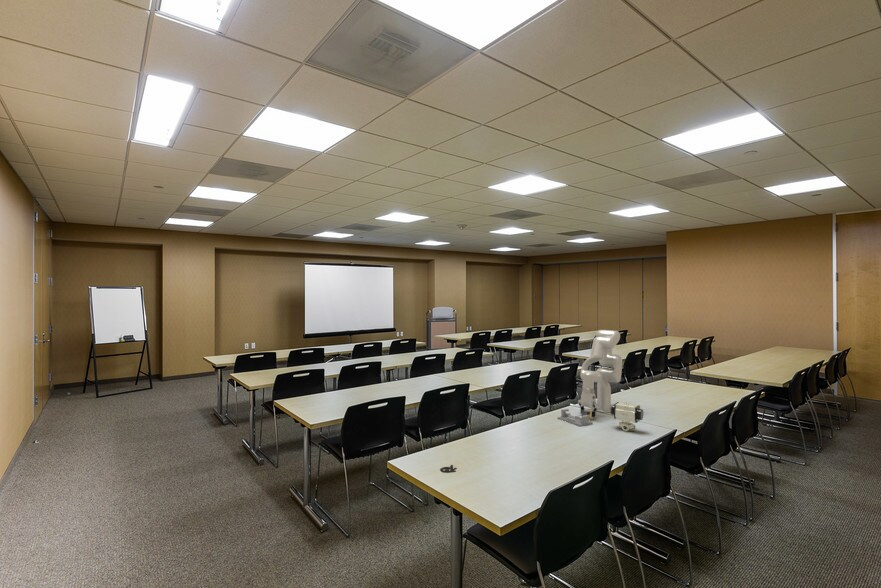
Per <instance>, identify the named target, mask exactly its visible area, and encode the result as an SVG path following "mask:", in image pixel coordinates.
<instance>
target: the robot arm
mask: <svg viewBox="0 0 881 588" xmlns="http://www.w3.org/2000/svg"><path fill="white" fill-rule="evenodd" d="M620 339H621V334H620V332H619V331H618V330H611V329H609V330H608V329H598V330H596V332H595V336H594V338H593V341H592V346H591V350H590V356H588V357H587V359H585V360H584V361H583V363H582V365H581V370H580V375H579V376H580V379H581V380H582V391H581V394H580V395H581V396H580V399H578V400H577V403H578V406H579V408H580V411H581V410H584V409H585V407H586V408H588V409H592V417H595V418H596V417H597V416H596V415H597V414H596V412H599V413H606V414H608V413H610V414H611V406H612V405H614V404H615V403H613V404H611V402H612V400H611V399H612V388H611V384H610V383H620V382H621V380H622V372H623V370H622V369H623V359H622V356H621V355H619V354H613V349H614V348H615V347H616V345H617V344H618V343H619V341H620ZM597 362H599V365H600V366H602V367H599V368H597V369H596V371H595V370H589V369H588V368H589V366H591V364H594V363H597ZM606 367H608V368H606ZM595 383H596V384H597V385H596V390H595Z"/></svg>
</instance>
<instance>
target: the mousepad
mask: <svg viewBox="0 0 881 588" xmlns="http://www.w3.org/2000/svg"><path fill="white" fill-rule="evenodd" d="M439 470H440V472H441V473H447V474H449V473H456V472H457V467H454V466H453V464H450V466H444V467H441V468H440V469H439Z"/></svg>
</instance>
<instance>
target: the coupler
mask: <svg viewBox="0 0 881 588" xmlns="http://www.w3.org/2000/svg"><path fill="white" fill-rule="evenodd" d="M580 414H581V415H580V416H584V415H588V416H589V421H592V420H596V416H595V417H592V409H591V408H586V409H585V408H584V410H581V409H580Z"/></svg>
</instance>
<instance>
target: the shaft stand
mask: <svg viewBox="0 0 881 588" xmlns="http://www.w3.org/2000/svg"><path fill="white" fill-rule="evenodd" d="M560 415H561V416H558V417H557V420H559V421H562V420H563V422H565V421H566V422H565V423H569V424H572V425H575V426H577V427H579V428H580V427H584V426H585V427H586V426H589V425H594V423H593V422H592V421H591V420H589V416H588V415H584V416H581V415H580V416H578V415H571V412H570V409H569V408H561V411H560Z"/></svg>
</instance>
